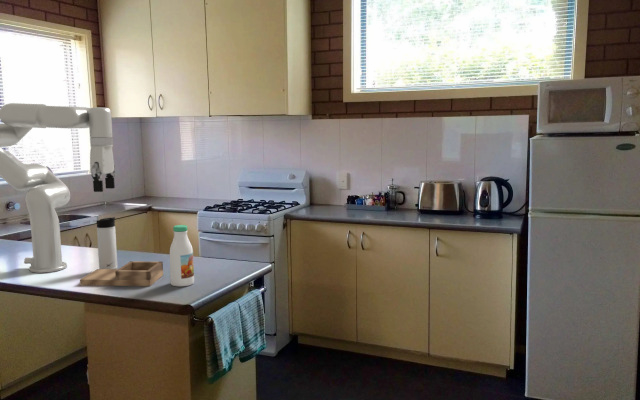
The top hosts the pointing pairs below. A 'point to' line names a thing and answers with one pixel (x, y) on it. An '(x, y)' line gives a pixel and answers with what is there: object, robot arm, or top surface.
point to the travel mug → (107, 243)
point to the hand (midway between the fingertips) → (104, 190)
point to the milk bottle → (181, 258)
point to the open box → (126, 275)
